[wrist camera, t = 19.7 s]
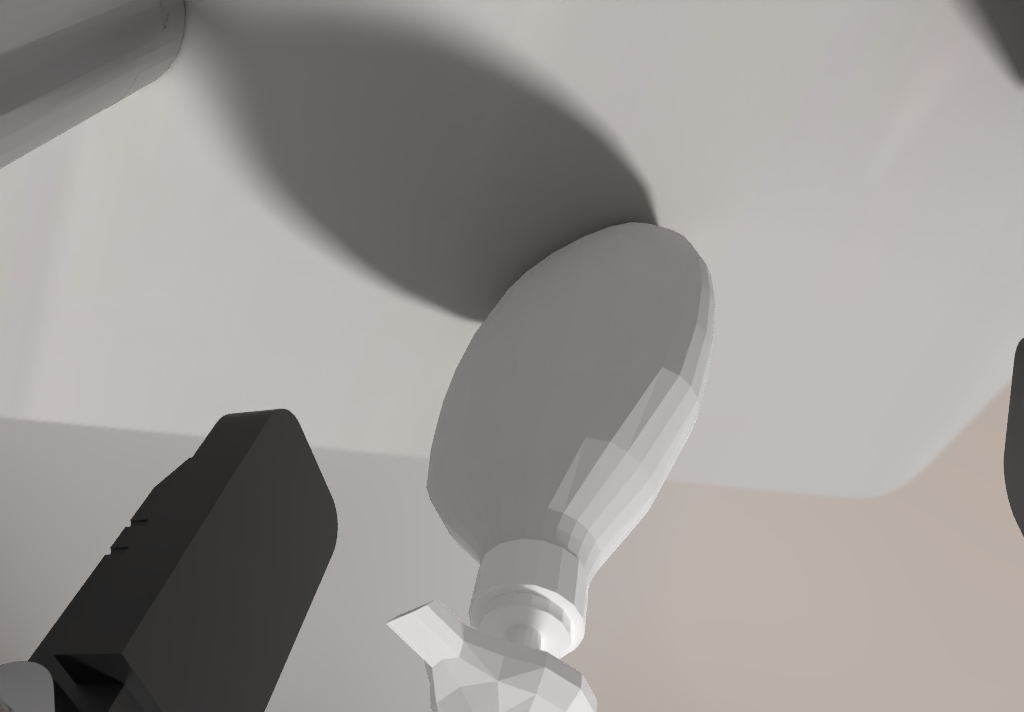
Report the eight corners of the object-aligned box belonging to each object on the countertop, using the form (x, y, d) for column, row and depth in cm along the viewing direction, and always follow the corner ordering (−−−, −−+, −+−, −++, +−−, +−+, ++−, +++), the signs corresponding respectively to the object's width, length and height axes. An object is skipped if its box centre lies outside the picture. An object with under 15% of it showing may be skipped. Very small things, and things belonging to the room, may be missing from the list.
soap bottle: (649, 131, 40) (632, 556, 18) (736, 259, 43) (814, 759, 21) (424, 279, 46) (205, 727, 24) (513, 381, 49) (391, 865, 27)
